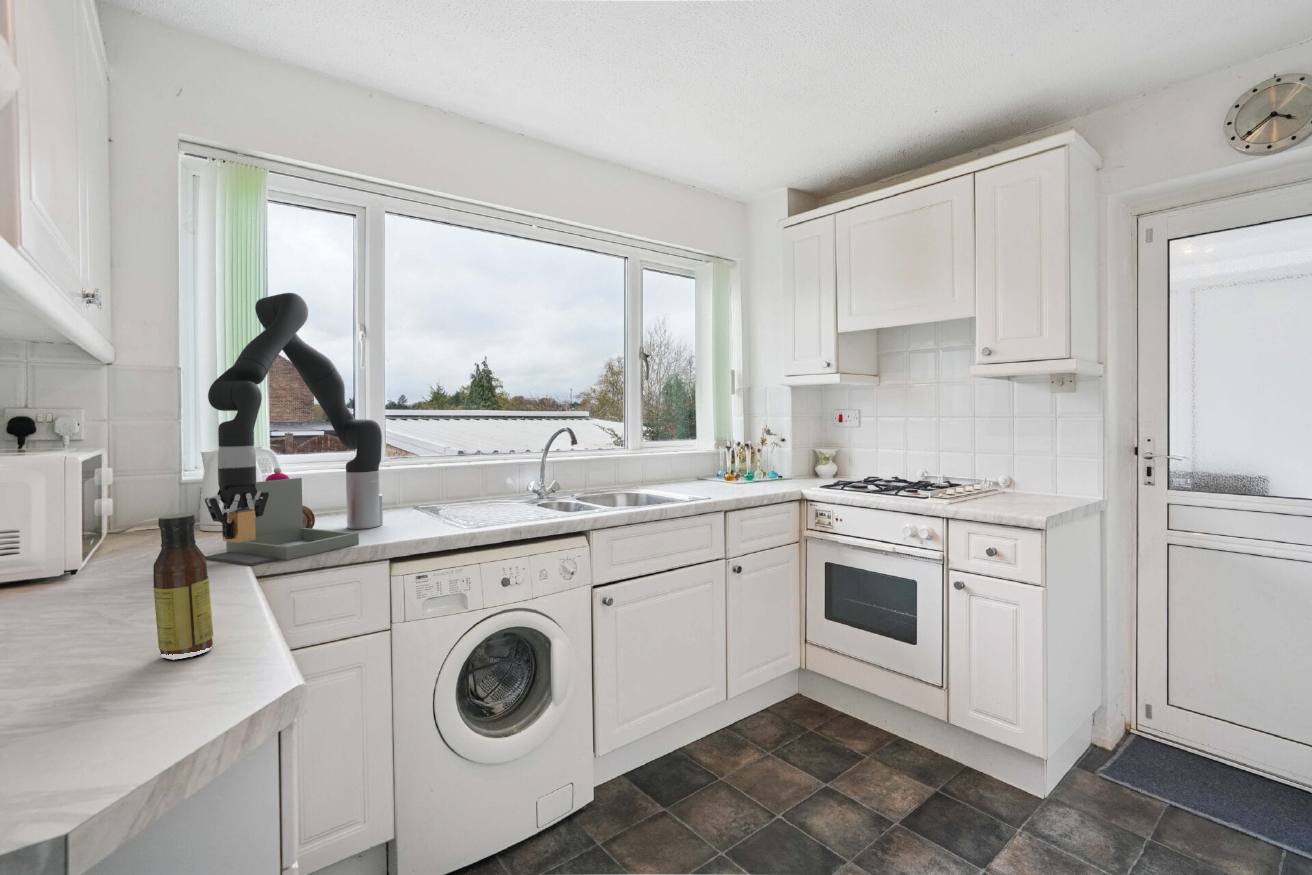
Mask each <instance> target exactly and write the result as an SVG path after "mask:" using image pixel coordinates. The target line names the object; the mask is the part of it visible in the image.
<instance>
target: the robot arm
mask: <svg viewBox="0 0 1312 875" xmlns="http://www.w3.org/2000/svg"><path fill="white" fill-rule="evenodd" d="M254 309H255V310H254V311H255V315H256V317H257V318H258V321H259V322H260V324H261V325H262V327H263V328H264V330H262V332H261V333H259V334H258V335H257V336H255V338H253V339H252V340H251V341H249V343H248V344H246V346H245V347H244V348H243V349H242V351H241V352H240V354H239V356H237V358H236V360H235V362H234V364H233V365H232V366H230V368H228V369H227V370H225V371H224V372H223V373H222V374H221V375H220V376H218V377H217V378H216V379H215V380H214V381H213V382H212V384H211V385H210V387H209V390H208V393H207V399H208V402H209V404H210V406H211V407H212V408H214V410H218V411H220V412H221V411H222V412H236V415H235V417H234V418H233V419H231V420H227V421H223V422H221V423H219V425H218V428H217V429H218V430H217V432H218V433H217V435H218V436H217V437H218V452H217V481H218V482H217V483H218V487H219V488H218V489H219V490H218V491H217V494H216V495H213V496H212V497H205V499H204V503H205V505H206V507H207V509H208V510H207V511H208V512H209V515H210V517H211V520H212V521H213V522H218V523H221V527H222V528H221V531H222V530H223V531H222V538H223V537H225V539H233V523H231V522H232V520H233V513H234V512H236V509H237V508H246V509H252V510H255V519H256V518H257V517H259V516H262V515H263V513H264V509H265V506H266V503H267V499H268V496H269V493H268V492H260V491H257V489H256V487H255V484H256V482H257V461H256V460H257V459H256V456H257V455H256V450H255V433H254V432H255V426H256V422H257V418H258V415H259V411H260V409H261V404H262V400H263V399H262V398H263V397H262V396H263V395H262V392H261V388H259V385H260V384H261V383H262V382H263V381H264V380H265V379H266V377H267V375H268V373H269V371H270V369H271V368H272V366H273V364H274V362H275V360H276V359H277V357H278V356H279V354H280V353H281V352H282V351H283V353H284V355H286V357H287V359H288V360H289V361H290V362H291V364H292V366H293V367H294V368H295V370H296V371H297V373H298V374H299V375H300V377H301V380H302V381H303V382H304V384H305V385H306V387H307V388H308V390H309V392H310V393H311V394H312V395H313V397H314V399H315V400H316V401H317V403H318V404H319V406H320V407H321V410H323V412H324V414H325V415H326V417H327V419H328V421H329V423H330V424H331V426H332V428H333V430H334V432H335V434H336V436H337V438H338V440H339V441H340V442H341V444H342V445H343V446H344V447H345V448H347V449H349V450H356V455H355V457H354V458H353V459H352V460H350V461H348V462H346V464H345V481H346V482H345V483H346V484H345V486H346V488H345V489H346V490H345V492H346V523H347V525H346V526H347V529H352V530H354V529H355V530H358V529H372V528H376V527H380V526H383V525H384V522H383V520H384V519H383V517H384V516H383V515H384V514H383V494H380V471H379V470H380V463H381V461H382V448H383V447H382V445H383V444H382V443H383V439H382V438H383V436H382V435H383V434H382V429H381V426H380V424H379V423H378V422H377V421H375V420H372V419H365V418H364V419H363V418H362V419H357V418H355V416H354V415H353V414H352V412H351V411H350V409H349V408H348V405H347V403H346V399H345V398H346V389H345V388H346V387H345V381H344V379H343V377H342V375H341V374H340V372H339V371H338V369H337V367H336V366H335V364H334V363H333V361H332V360H331V359H330V358H328V356H326V355H325V354H323V352H321V351H318V350H317V349H316V348H314V347H312V345H309V344H308V343H307V342H305V341H304V340H302V338H301V337H300V336H299V335H298V334H297V333H298V331H299V330H300V329H301V328H302V327H303V326H304V325H305V324H306V322H307V320H308V317H309V308H308V305H307V303H306V301H305V300H304V298H303V297H302V296H300V295H299V294H298V293H295V292H285V293H278V294H275V295H270V296H267V297H266V296H265V297H262V298H260V299H257V301H256V303H255V308H254ZM255 496H256V497H255ZM254 498H256V502H255V505H253V502H252V501H253V499H254ZM220 501H221V502H220ZM221 503H222V509H221V508H220V504H221ZM229 508H230V509H229Z"/></svg>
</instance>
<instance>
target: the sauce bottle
mask: <svg viewBox="0 0 1312 875" xmlns="http://www.w3.org/2000/svg"><path fill="white" fill-rule="evenodd" d="M195 517H196V516H195V514H194V513H187V512H185V513H174V514H167V515H163V516H160V517H158V522H157V524H158V528H159V529H160V537H161V538H160V539H161V540H160V541H161V544H160V547H161V550H160V552H159V553H158V556H157V558H156V559H155V562H154V563H153V565H152V566H153V567H152V568H153V572H152V573H153V577H152V579H153V596H154V609H155V610H154V611H155V621H156V631H157V632H156V633H157V644H158V645H157V646H158V650H159V651H160V655H161V654H166V655H167V654H168V655H169V654H172V655H173V654H184V653H190V652H197V651H200V650H205V649H206V648H210V647H211V646H212V645H213V644H214V641H213V637H214V628H213V614H212V613H213V612H212V601H211V591H210V590H211V589H210V577H209V576H208V564H207V559H206V557H205V554H204V553H203V552H202V551H201V549H200V548H199V546H198V545H197V544H196V542H197V540H196V538H195V526H194V525H195V524H196V518H195ZM212 647H213V646H212Z"/></svg>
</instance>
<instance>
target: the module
mask: <svg viewBox="0 0 1312 875" xmlns="http://www.w3.org/2000/svg"><path fill="white" fill-rule="evenodd" d="M231 523H233V539H225V537H223V536H222V541H223V542H226V541H229V542H237V543H240V542H245V541H251V540H256V532H255V510H252V509H246V508H237V509H236V512H234V513H233V520H232V522H231ZM221 531H223V530H222V529H221Z"/></svg>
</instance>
